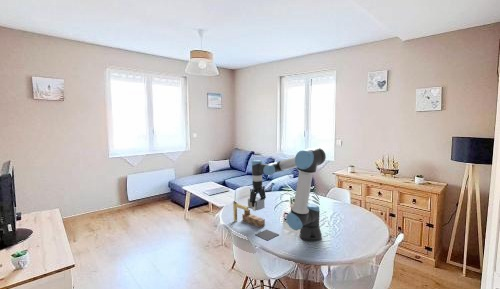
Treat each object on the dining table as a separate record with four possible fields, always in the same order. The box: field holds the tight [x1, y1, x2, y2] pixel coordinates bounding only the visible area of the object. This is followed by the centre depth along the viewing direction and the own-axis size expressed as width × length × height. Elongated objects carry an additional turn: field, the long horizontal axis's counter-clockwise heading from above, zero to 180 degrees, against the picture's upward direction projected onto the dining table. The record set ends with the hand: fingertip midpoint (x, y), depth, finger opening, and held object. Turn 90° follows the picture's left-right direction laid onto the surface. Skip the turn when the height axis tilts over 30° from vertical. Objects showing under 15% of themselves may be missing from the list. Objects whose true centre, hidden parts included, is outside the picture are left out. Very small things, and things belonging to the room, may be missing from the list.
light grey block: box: [247, 196, 265, 211], centre depth 206 cm, size 10×8×7 cm
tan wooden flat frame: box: [232, 200, 249, 222], centre depth 209 cm, size 16×3×16 cm, turn 44°
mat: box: [254, 229, 279, 241], centre depth 189 cm, size 12×12×1 cm
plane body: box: [241, 208, 266, 228], centre depth 210 cm, size 20×5×9 cm, turn 44°
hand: (258, 209), depth 205 cm, fingers closed on light grey block, 8 cm apart
